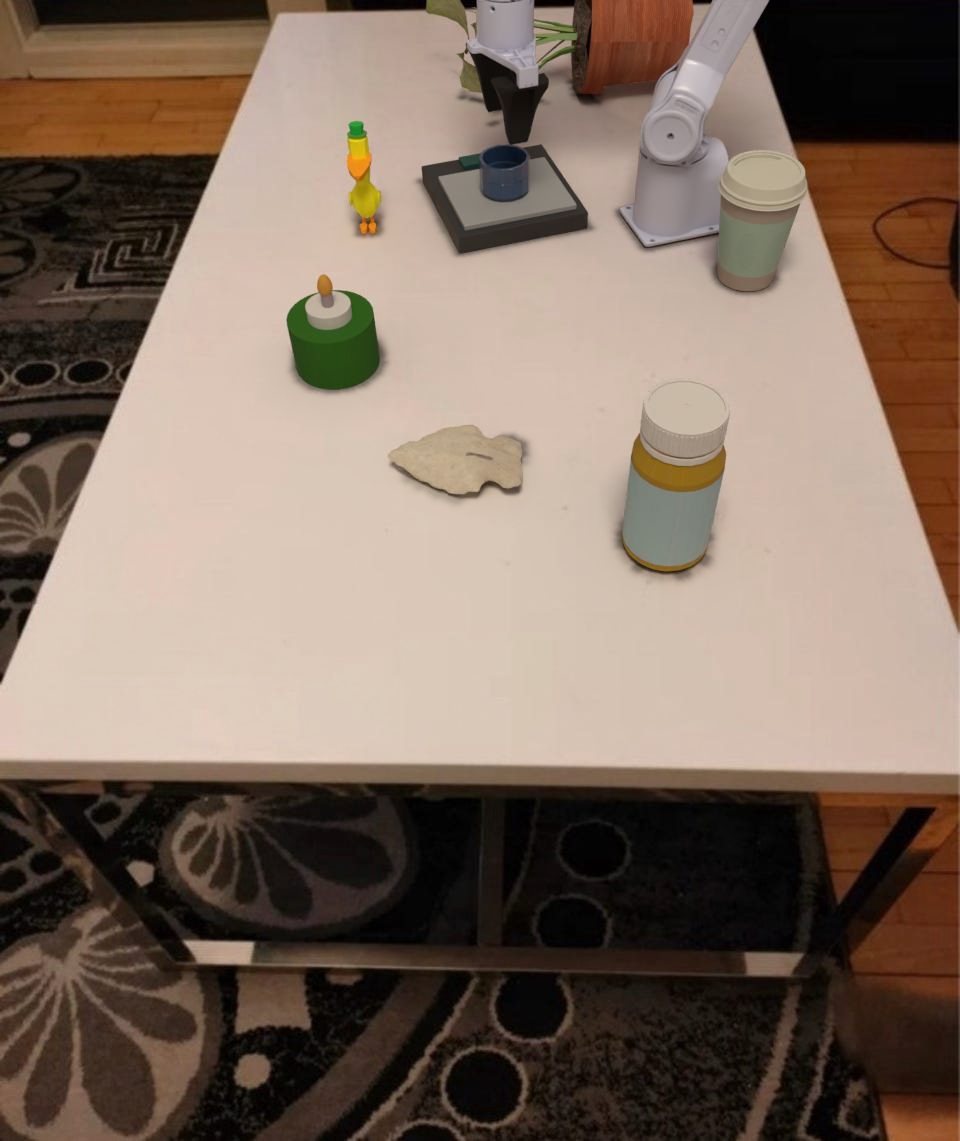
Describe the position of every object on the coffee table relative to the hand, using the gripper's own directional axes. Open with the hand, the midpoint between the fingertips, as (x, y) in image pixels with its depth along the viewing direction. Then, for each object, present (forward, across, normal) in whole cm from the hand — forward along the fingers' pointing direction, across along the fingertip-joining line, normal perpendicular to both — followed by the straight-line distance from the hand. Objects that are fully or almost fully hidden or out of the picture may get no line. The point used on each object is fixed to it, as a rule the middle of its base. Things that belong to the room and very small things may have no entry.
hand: (506, 125), depth 110 cm
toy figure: (+10, 0, -17) cm, 19 cm away
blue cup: (+7, +1, -1) cm, 7 cm away
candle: (+10, +22, -25) cm, 34 cm away
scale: (+9, 0, -1) cm, 9 cm away
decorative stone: (+10, +40, -18) cm, 45 cm away
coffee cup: (+10, +22, +19) cm, 31 cm away
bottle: (+10, +54, -4) cm, 55 cm away
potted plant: (+10, -24, +14) cm, 29 cm away
